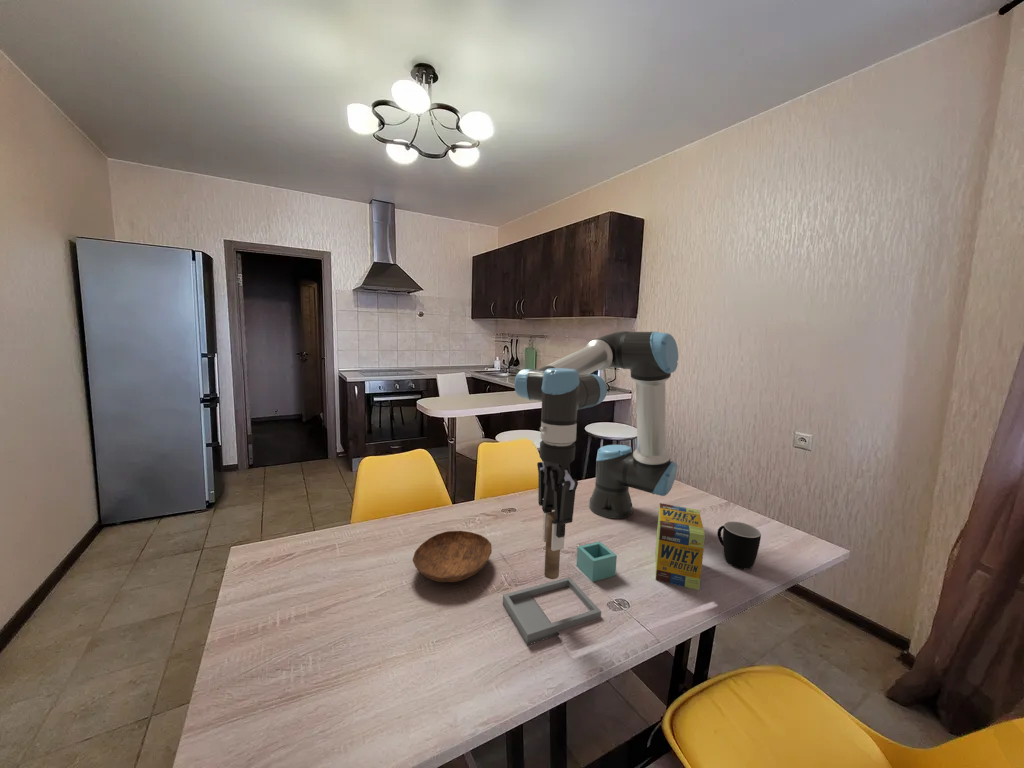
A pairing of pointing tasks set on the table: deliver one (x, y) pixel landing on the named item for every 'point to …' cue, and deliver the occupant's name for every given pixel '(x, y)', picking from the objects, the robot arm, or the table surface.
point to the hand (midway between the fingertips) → (553, 544)
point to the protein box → (679, 546)
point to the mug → (739, 544)
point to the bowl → (452, 556)
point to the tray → (534, 619)
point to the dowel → (551, 556)
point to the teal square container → (596, 561)
